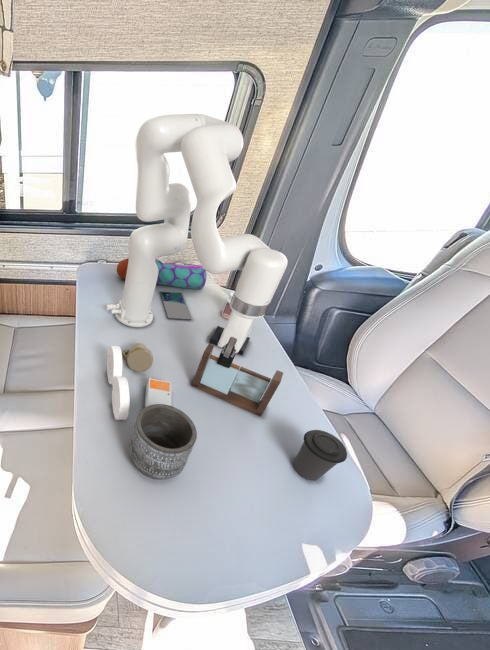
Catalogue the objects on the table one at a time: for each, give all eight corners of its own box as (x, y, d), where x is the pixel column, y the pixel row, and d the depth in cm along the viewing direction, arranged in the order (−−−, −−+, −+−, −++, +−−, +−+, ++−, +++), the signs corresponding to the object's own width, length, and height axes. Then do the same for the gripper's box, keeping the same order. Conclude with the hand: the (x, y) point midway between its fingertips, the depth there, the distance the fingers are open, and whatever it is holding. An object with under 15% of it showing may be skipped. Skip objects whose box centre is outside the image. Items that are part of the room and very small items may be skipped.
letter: (105, 365, 112) (110, 338, 106) (113, 365, 112) (118, 338, 106) (115, 428, 94) (122, 400, 88) (124, 428, 94) (131, 400, 88)
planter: (123, 438, 92) (132, 402, 84) (175, 440, 92) (188, 404, 84) (130, 486, 82) (141, 450, 75) (187, 489, 82) (204, 453, 75)
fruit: (121, 269, 156) (124, 251, 151) (142, 276, 152) (145, 258, 147) (111, 278, 150) (113, 260, 145) (131, 286, 146) (135, 267, 141)
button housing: (208, 342, 121) (212, 333, 119) (216, 329, 127) (219, 321, 124) (242, 355, 117) (246, 346, 115) (248, 341, 122) (252, 333, 120)
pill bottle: (238, 320, 131) (246, 299, 126) (223, 319, 131) (231, 298, 126) (233, 311, 135) (241, 291, 130) (219, 311, 135) (227, 290, 130)
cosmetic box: (171, 381, 101) (172, 417, 92) (168, 392, 104) (168, 428, 95) (148, 376, 102) (146, 411, 93) (145, 388, 105) (143, 423, 96)
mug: (149, 351, 117) (162, 340, 108) (140, 380, 114) (152, 371, 104) (126, 341, 118) (137, 329, 109) (116, 370, 114) (126, 360, 105)
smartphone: (168, 317, 130) (160, 291, 143) (167, 319, 131) (159, 292, 143) (191, 319, 130) (181, 292, 143) (190, 320, 130) (180, 293, 143)
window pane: (199, 383, 105) (214, 345, 97) (200, 381, 106) (215, 343, 97) (226, 395, 102) (244, 357, 94) (227, 393, 103) (245, 355, 94)
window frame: (191, 385, 106) (203, 351, 99) (196, 377, 109) (208, 343, 101) (260, 416, 99) (280, 382, 91) (264, 407, 101) (283, 372, 94)
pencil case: (145, 286, 146) (150, 263, 140) (146, 274, 153) (151, 252, 147) (202, 295, 143) (210, 272, 137) (201, 282, 150) (208, 260, 144)
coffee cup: (311, 492, 83) (334, 466, 77) (278, 462, 88) (297, 435, 82) (335, 477, 86) (358, 450, 80) (301, 448, 91) (321, 421, 85)
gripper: (240, 283, 94) (217, 342, 105) (222, 313, 84) (199, 374, 95) (273, 294, 90) (246, 353, 102) (259, 326, 80) (231, 388, 92)
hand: (224, 363), depth 98 cm, fingers closed
